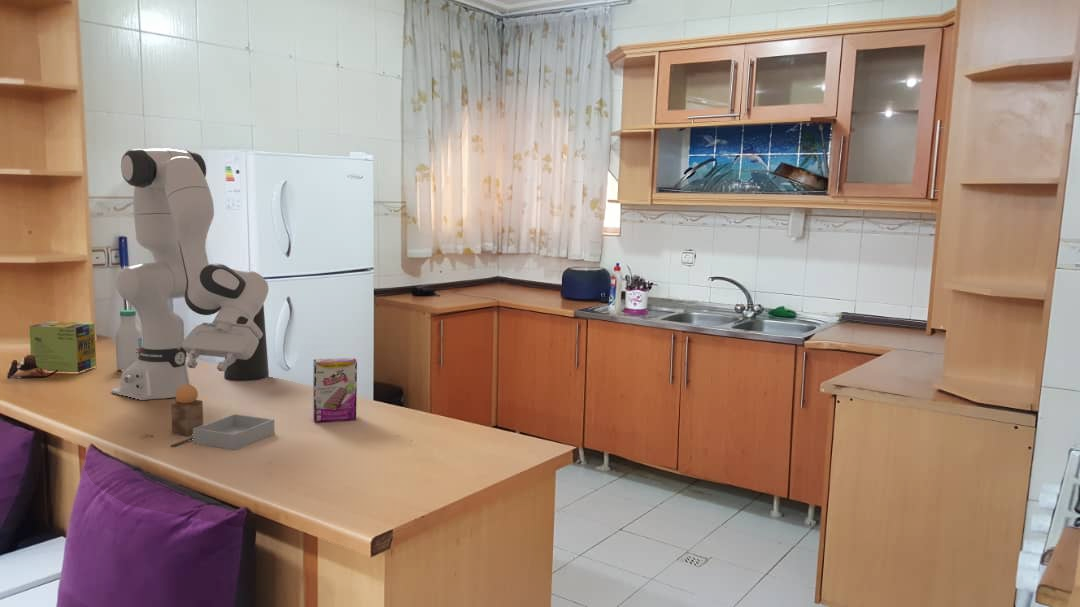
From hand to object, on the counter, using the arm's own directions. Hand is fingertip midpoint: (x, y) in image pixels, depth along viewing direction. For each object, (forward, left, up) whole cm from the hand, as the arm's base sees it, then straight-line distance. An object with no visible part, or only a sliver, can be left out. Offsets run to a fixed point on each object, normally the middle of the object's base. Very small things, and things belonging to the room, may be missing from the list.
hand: (205, 368), depth 192 cm
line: (+5, -5, -15) cm, 17 cm away
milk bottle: (-68, +40, -15) cm, 81 cm away
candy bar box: (+26, +19, -15) cm, 35 cm away
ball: (0, -6, -5) cm, 8 cm away
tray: (+13, -5, -15) cm, 21 cm away
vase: (-28, +49, -15) cm, 59 cm away
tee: (0, -6, -15) cm, 16 cm away
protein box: (-85, +30, -15) cm, 92 cm away
